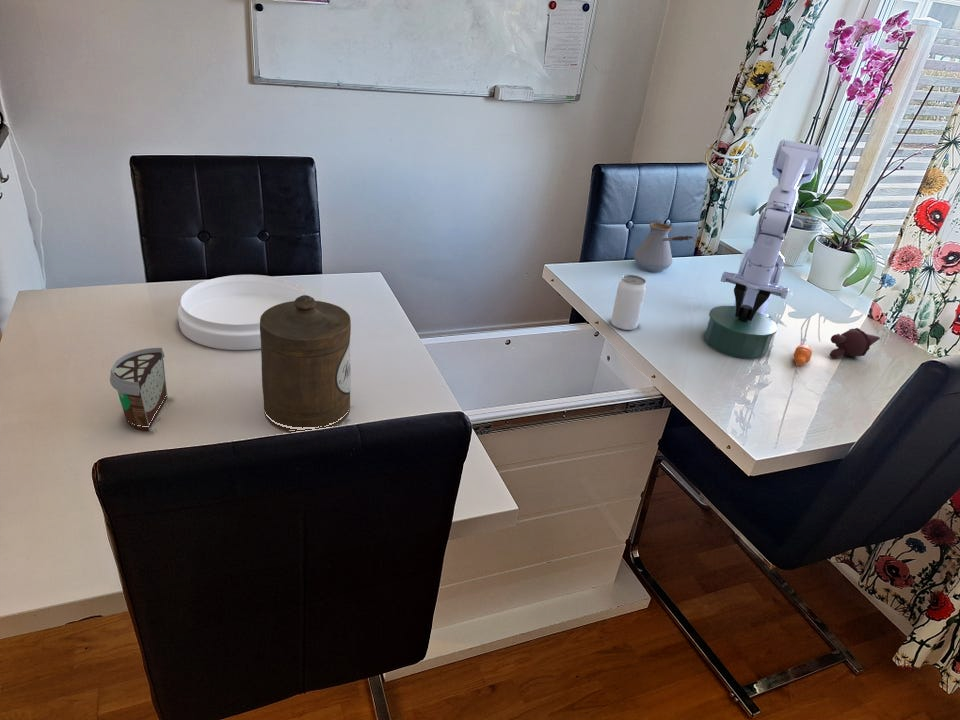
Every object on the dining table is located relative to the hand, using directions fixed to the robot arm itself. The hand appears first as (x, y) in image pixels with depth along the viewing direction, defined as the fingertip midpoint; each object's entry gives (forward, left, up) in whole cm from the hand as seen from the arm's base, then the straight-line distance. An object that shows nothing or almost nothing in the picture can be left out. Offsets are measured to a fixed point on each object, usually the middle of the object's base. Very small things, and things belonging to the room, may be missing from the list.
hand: (743, 317), depth 156 cm
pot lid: (0, 0, -1) cm, 1 cm away
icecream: (-20, +20, -7) cm, 29 cm away
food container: (+118, -50, -7) cm, 128 cm away
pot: (0, 0, -7) cm, 7 cm away
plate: (+87, -72, -7) cm, 113 cm away
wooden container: (+95, -35, -7) cm, 102 cm away
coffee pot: (-24, -36, -7) cm, 44 cm away
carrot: (-5, +14, -7) cm, 16 cm away
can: (+15, -22, -7) cm, 28 cm away
